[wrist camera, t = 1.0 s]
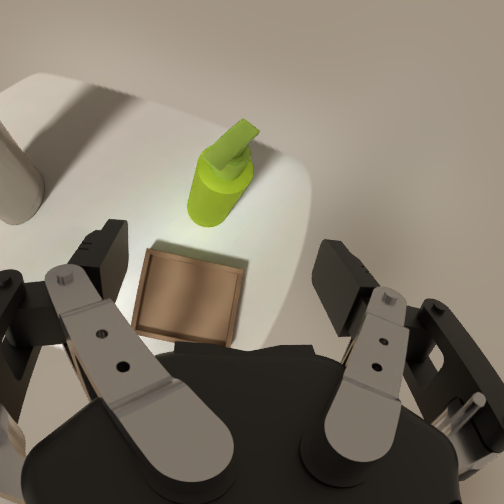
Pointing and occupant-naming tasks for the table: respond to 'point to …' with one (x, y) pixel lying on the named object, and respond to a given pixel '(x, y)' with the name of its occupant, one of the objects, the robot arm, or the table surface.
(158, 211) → the table surface
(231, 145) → the soap dispenser
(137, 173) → the table surface
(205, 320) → the soap tray
